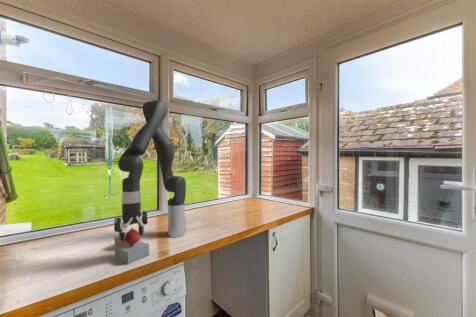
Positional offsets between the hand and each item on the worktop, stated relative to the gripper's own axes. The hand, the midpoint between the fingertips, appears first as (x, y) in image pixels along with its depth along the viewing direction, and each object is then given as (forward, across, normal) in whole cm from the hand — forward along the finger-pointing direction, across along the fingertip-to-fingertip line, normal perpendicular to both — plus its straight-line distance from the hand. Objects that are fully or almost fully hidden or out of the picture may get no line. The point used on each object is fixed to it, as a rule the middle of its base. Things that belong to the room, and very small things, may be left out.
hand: (131, 237), depth 99 cm
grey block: (+9, 0, 0) cm, 9 cm away
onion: (+4, 0, 0) cm, 4 cm away
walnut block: (+9, -5, -13) cm, 16 cm away
